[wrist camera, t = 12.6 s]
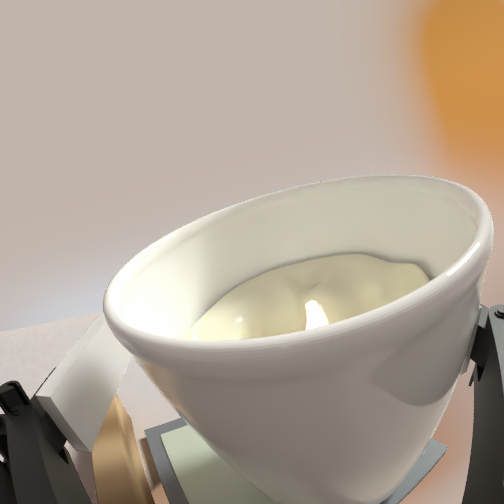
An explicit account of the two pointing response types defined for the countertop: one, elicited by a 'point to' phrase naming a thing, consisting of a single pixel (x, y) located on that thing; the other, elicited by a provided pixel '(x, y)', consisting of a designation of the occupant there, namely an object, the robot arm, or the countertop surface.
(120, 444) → the brown wooden bar
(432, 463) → the square tile
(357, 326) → the candle holder
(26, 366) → the countertop surface
